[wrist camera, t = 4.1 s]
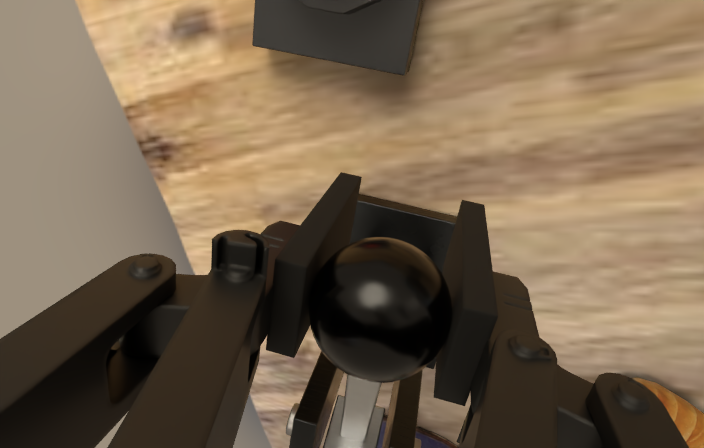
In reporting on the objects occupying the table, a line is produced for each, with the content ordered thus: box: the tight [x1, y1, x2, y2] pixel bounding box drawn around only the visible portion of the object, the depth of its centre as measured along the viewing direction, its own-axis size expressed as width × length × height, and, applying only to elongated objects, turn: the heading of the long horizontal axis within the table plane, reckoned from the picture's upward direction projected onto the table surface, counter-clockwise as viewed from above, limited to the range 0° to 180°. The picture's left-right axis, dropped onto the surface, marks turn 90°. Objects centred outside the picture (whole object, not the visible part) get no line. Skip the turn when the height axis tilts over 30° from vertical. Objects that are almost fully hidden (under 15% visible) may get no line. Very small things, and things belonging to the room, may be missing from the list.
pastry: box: [632, 378, 704, 448], centre depth 32 cm, size 9×7×4 cm
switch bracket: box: [286, 194, 457, 448], centre depth 26 cm, size 12×9×16 cm
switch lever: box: [309, 237, 452, 448], centre depth 16 cm, size 15×4×4 cm, turn 170°
